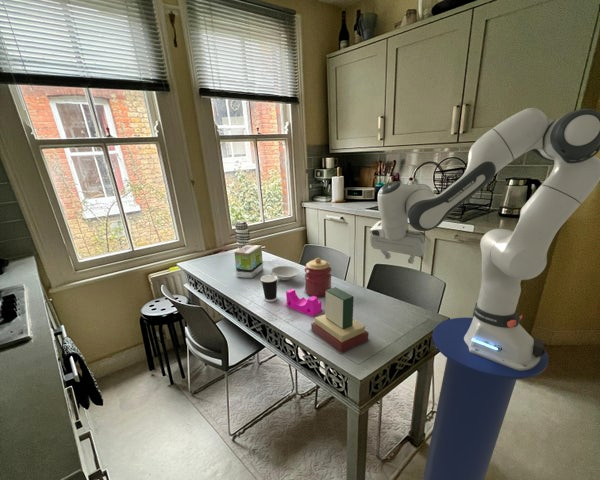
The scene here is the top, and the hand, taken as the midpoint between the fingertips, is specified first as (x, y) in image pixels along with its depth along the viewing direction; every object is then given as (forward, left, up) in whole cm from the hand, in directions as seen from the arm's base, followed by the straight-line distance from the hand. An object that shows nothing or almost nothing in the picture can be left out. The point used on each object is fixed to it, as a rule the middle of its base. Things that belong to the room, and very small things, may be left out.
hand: (399, 260), depth 118 cm
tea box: (+85, +24, -26) cm, 92 cm away
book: (+5, +25, -20) cm, 33 cm away
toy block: (+30, +24, -26) cm, 47 cm away
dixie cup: (+48, +31, -26) cm, 63 cm away
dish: (+64, +13, -26) cm, 70 cm away
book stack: (+5, +25, -26) cm, 36 cm away
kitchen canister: (+41, +8, -26) cm, 49 cm away
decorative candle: (+107, +17, -26) cm, 111 cm away
